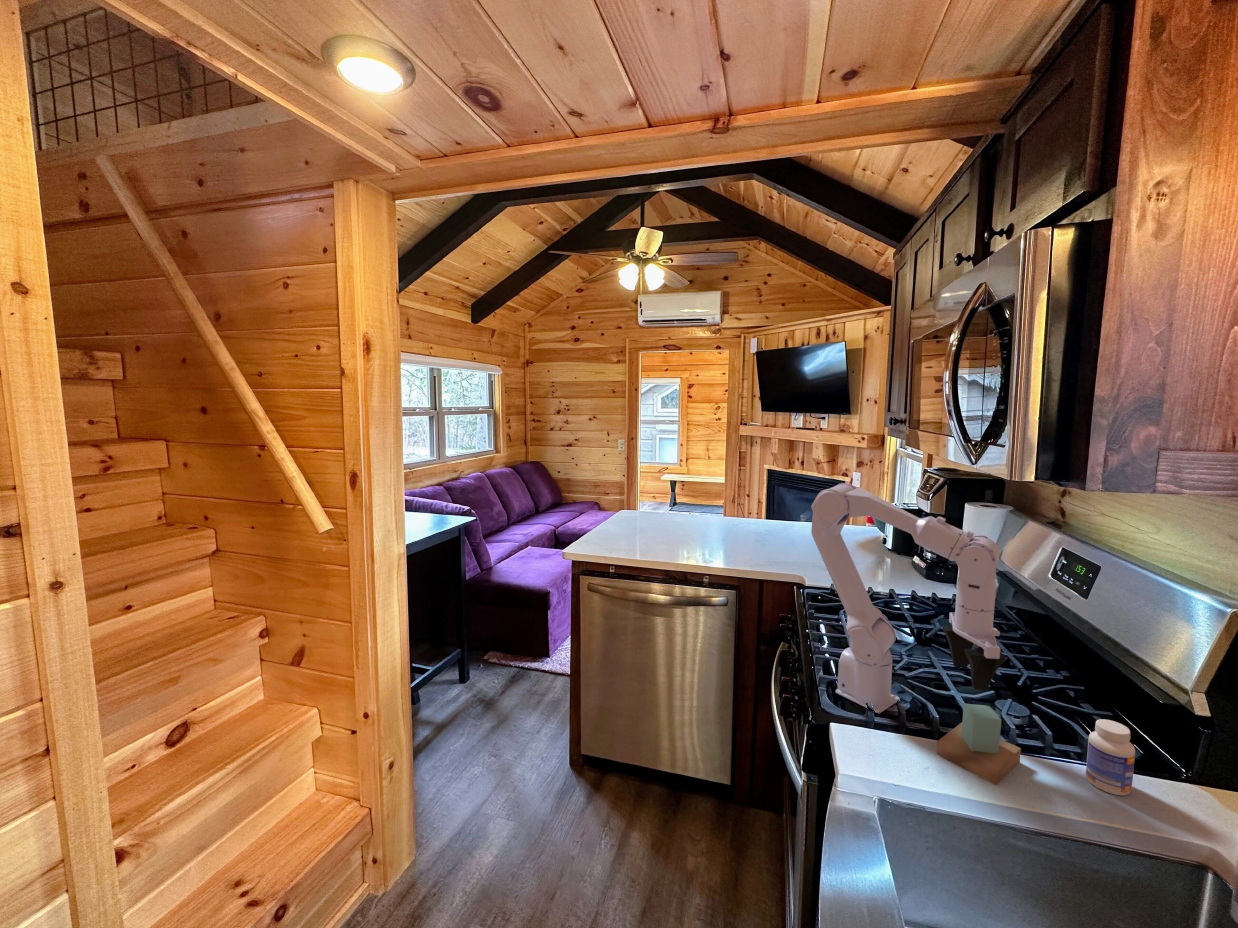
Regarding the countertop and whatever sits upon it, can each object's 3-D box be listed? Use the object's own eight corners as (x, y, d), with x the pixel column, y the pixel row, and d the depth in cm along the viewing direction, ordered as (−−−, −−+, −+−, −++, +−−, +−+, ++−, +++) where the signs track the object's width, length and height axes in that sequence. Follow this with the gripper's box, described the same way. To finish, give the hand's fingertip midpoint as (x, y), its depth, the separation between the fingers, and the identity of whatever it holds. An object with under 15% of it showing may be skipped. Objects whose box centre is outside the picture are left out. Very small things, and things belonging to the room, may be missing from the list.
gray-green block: (971, 750, 89) (974, 717, 88) (961, 735, 93) (963, 703, 92) (998, 753, 88) (1001, 719, 87) (987, 738, 92) (989, 705, 91)
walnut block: (936, 757, 92) (937, 740, 91) (961, 737, 97) (962, 721, 97) (996, 787, 84) (997, 770, 84) (1019, 764, 90) (1020, 748, 89)
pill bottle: (1133, 801, 80) (1140, 742, 79) (1086, 786, 84) (1092, 729, 82) (1128, 780, 85) (1134, 723, 84) (1083, 767, 88) (1088, 712, 87)
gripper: (1022, 623, 87) (1016, 701, 89) (979, 591, 101) (974, 659, 103) (975, 621, 88) (969, 698, 90) (939, 589, 103) (935, 656, 104)
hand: (969, 677), depth 97 cm, fingers open, 7 cm apart
